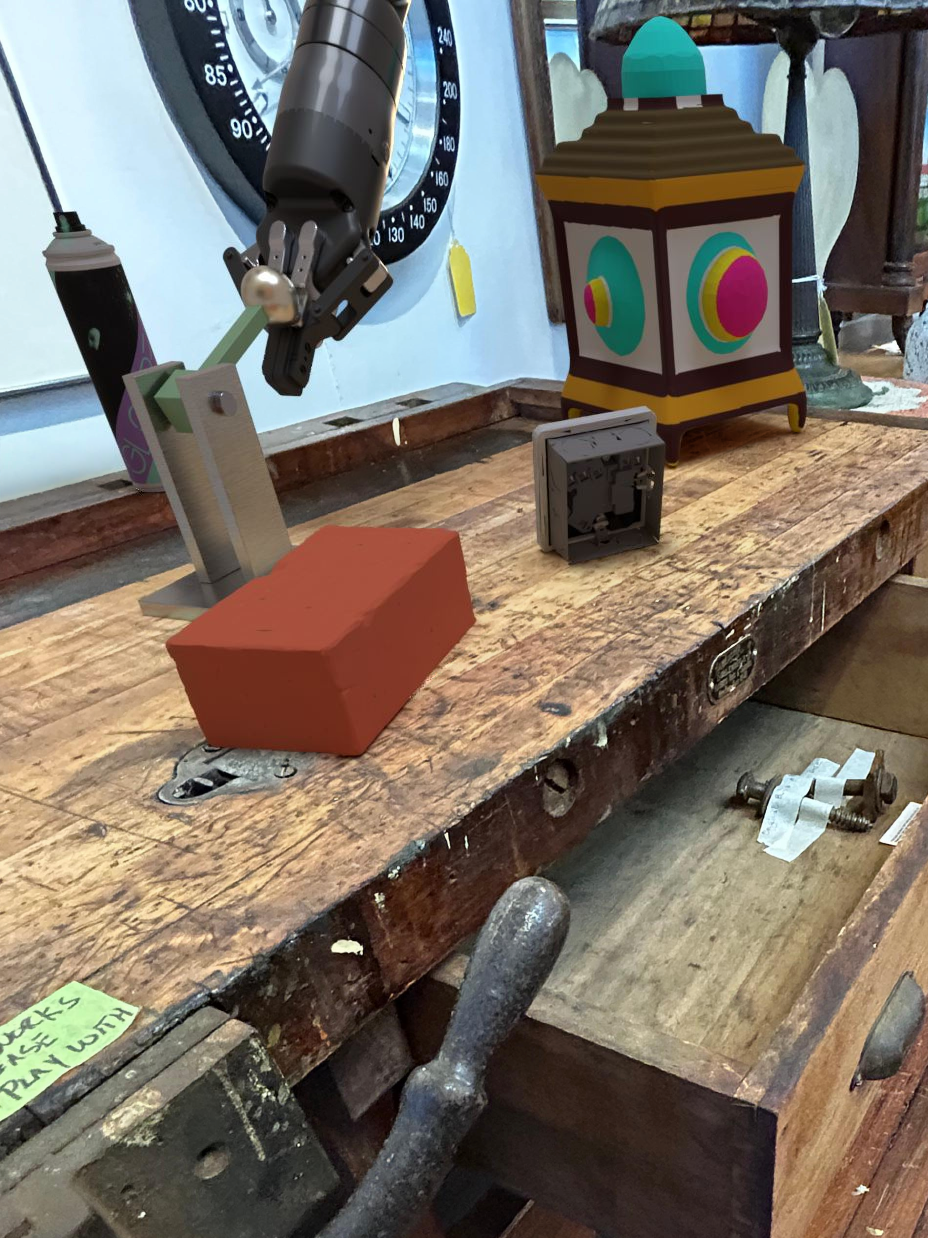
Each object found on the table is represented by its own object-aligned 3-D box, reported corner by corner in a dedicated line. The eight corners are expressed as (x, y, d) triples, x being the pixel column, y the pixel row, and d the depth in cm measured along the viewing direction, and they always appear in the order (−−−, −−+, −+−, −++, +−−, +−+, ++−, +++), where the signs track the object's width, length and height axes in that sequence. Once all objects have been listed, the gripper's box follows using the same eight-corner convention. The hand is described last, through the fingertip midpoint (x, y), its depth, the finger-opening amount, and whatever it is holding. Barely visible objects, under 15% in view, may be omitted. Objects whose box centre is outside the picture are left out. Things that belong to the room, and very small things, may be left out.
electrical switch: (646, 527, 80) (640, 397, 74) (679, 552, 77) (675, 419, 71) (536, 553, 77) (519, 419, 70) (566, 580, 74) (551, 443, 67)
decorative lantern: (544, 436, 102) (485, 23, 82) (696, 399, 111) (677, 22, 91) (669, 475, 90) (637, 7, 70) (827, 431, 100) (838, 7, 80)
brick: (360, 758, 54) (326, 649, 50) (205, 749, 55) (160, 642, 51) (479, 622, 67) (459, 527, 63) (351, 617, 69) (324, 524, 65)
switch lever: (274, 308, 72) (245, 253, 69) (317, 309, 71) (290, 253, 68) (174, 441, 66) (137, 387, 63) (219, 443, 65) (184, 389, 62)
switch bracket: (257, 557, 78) (186, 347, 69) (357, 566, 76) (298, 351, 67) (144, 618, 70) (46, 388, 60) (254, 631, 67) (170, 394, 58)
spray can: (144, 496, 91) (34, 216, 78) (127, 483, 94) (18, 212, 81) (206, 483, 93) (110, 209, 80) (187, 470, 97) (91, 205, 83)
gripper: (215, 106, 70) (163, 350, 70) (382, 100, 67) (329, 357, 66) (288, 195, 77) (241, 417, 77) (442, 194, 74) (394, 425, 74)
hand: (282, 389), depth 72 cm, fingers closed
